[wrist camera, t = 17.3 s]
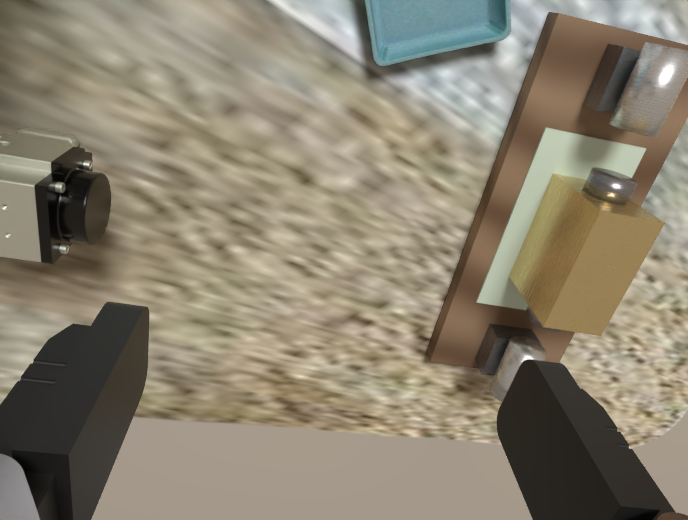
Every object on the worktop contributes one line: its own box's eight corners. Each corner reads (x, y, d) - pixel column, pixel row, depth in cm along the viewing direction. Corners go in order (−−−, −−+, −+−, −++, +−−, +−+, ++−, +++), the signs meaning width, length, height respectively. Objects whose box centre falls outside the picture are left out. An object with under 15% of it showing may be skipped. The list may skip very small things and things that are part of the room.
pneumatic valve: (137, 196, 38) (71, 278, 28) (-31, 170, 36) (-170, 246, 26) (138, 124, 35) (65, 184, 25) (-43, 92, 34) (-203, 141, 23)
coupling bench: (549, 12, 33) (597, 18, 28) (705, 50, 35) (781, 63, 30) (426, 351, 47) (442, 402, 41) (544, 366, 49) (575, 417, 43)
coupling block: (561, 153, 36) (612, 188, 30) (616, 165, 37) (677, 201, 31) (502, 291, 42) (535, 343, 36) (551, 299, 43) (591, 352, 37)
